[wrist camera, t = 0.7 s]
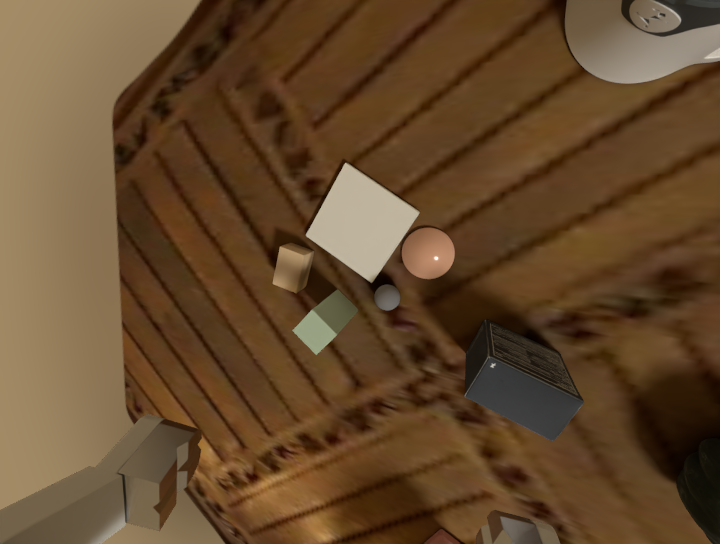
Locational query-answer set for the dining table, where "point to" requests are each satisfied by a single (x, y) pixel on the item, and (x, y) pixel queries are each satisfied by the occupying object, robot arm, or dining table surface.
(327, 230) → the beige mat
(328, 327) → the sage block
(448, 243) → the peach flat disc
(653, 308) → the dining table surface
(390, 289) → the rubber ball
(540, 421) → the small box
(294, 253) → the oak block
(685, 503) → the squash
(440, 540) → the retro mantel clock
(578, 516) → the dining table surface
